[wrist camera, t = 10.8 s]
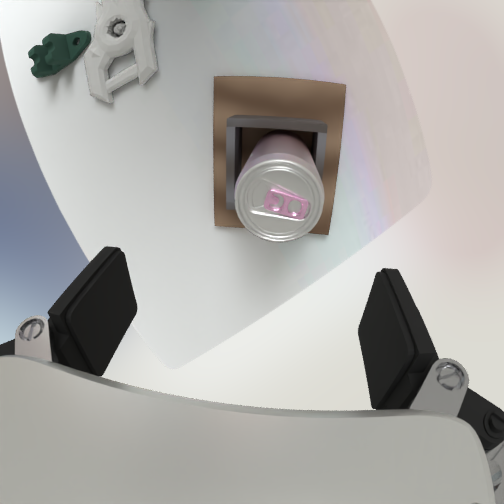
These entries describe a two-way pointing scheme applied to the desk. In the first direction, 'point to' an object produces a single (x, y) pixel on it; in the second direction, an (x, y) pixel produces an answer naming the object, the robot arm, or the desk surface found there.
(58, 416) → the robot arm
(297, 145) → the beverage can
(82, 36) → the mount
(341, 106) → the can dock
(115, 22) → the grey mechanical plate
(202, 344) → the desk surface
